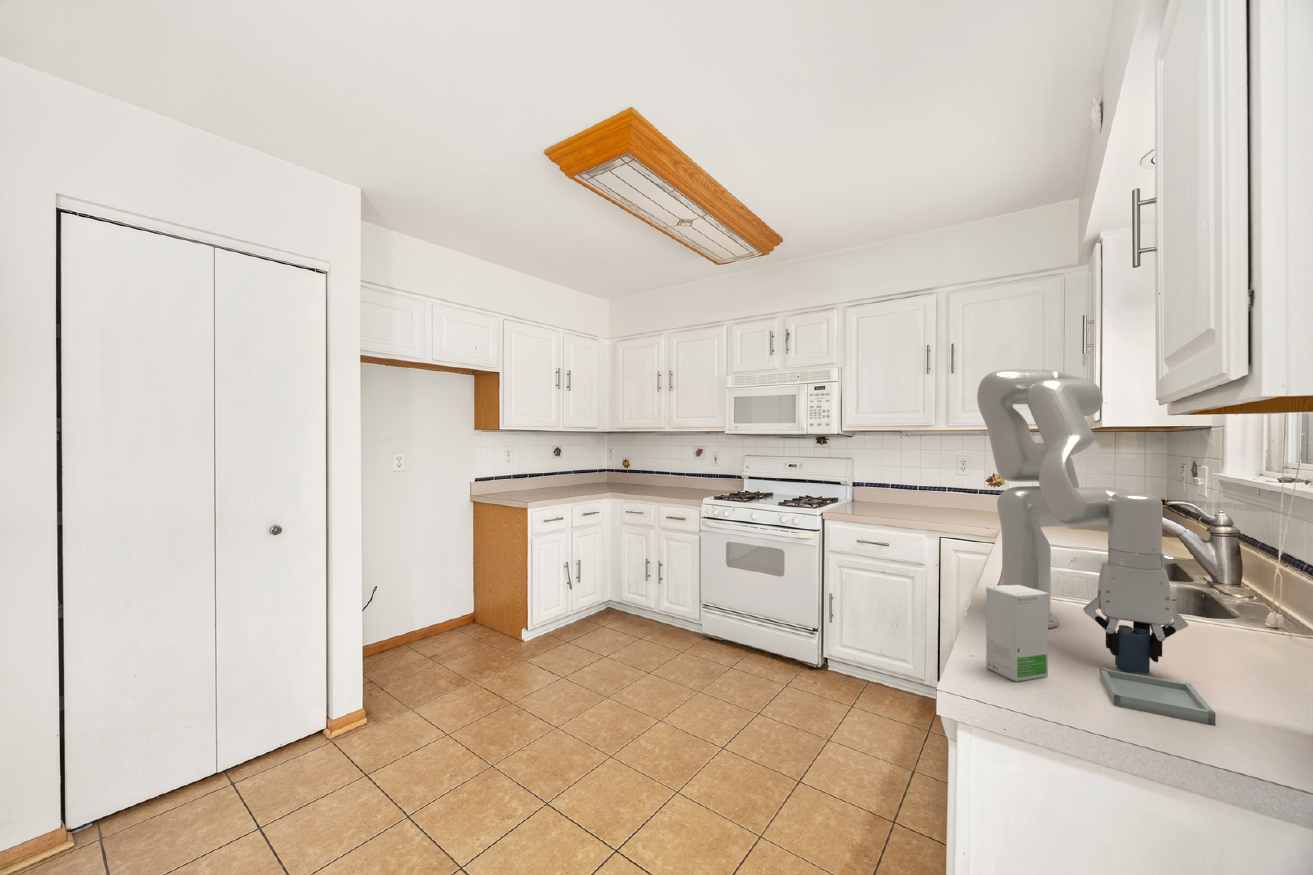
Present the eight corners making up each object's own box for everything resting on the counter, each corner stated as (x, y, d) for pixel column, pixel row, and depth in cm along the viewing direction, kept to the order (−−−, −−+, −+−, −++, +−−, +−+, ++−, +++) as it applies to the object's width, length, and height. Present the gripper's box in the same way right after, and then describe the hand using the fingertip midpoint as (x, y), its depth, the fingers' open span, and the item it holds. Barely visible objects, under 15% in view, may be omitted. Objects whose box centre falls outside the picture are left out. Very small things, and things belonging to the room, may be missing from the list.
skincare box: (1014, 682, 96) (1014, 596, 96) (982, 667, 102) (983, 586, 102) (1050, 676, 98) (1050, 592, 98) (1017, 661, 104) (1017, 582, 104)
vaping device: (1153, 674, 98) (1154, 610, 98) (1120, 672, 100) (1121, 608, 99) (1144, 668, 101) (1144, 605, 101) (1112, 666, 102) (1112, 603, 102)
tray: (1100, 677, 97) (1100, 668, 97) (1190, 694, 91) (1190, 683, 91) (1113, 704, 88) (1114, 694, 88) (1215, 724, 82) (1215, 713, 82)
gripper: (1189, 560, 99) (1188, 658, 99) (1073, 550, 107) (1072, 640, 108) (1205, 570, 92) (1203, 674, 93) (1080, 558, 101) (1079, 653, 101)
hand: (1133, 654), depth 100 cm, fingers closed on vaping device, 5 cm apart
